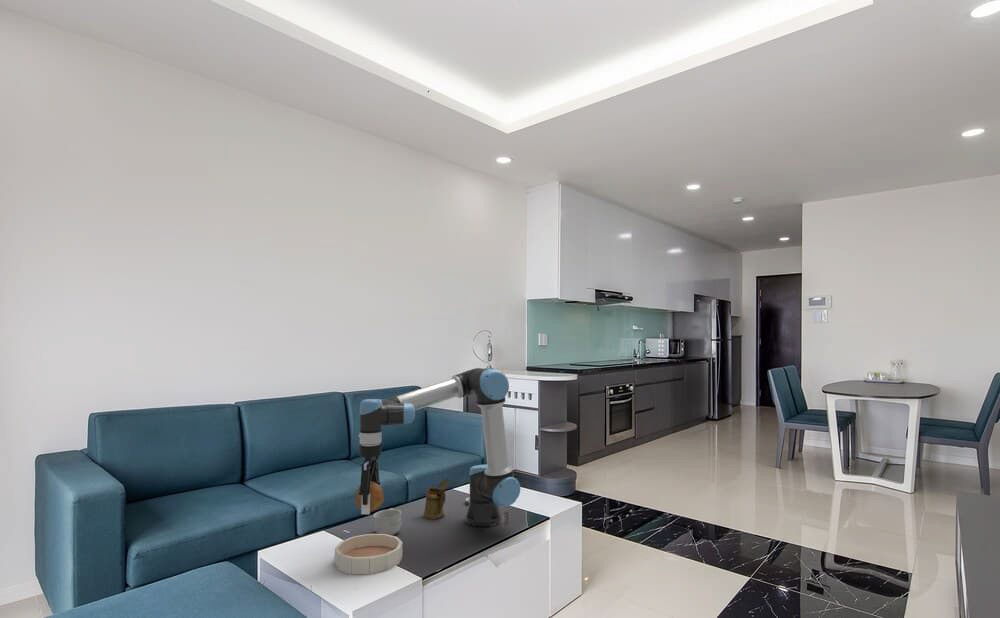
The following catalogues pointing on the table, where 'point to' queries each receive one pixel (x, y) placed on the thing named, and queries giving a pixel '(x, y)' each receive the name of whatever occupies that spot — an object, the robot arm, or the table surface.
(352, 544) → the bowl
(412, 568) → the table surface
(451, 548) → the table surface
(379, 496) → the onion
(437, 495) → the wooden mug
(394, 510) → the teacup
